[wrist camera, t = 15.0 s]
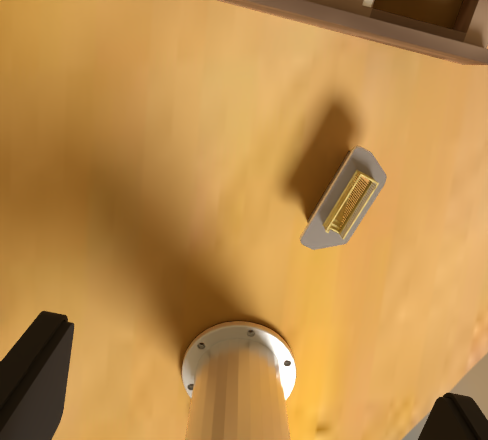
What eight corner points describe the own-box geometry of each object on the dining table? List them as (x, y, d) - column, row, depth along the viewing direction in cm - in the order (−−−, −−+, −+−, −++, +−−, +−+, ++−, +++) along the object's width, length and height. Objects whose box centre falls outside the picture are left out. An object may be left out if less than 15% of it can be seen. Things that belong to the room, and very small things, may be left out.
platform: (438, 136, 43) (472, 149, 37) (339, 287, 48) (353, 321, 42) (330, 75, 41) (345, 77, 35) (238, 239, 46) (238, 267, 40)
